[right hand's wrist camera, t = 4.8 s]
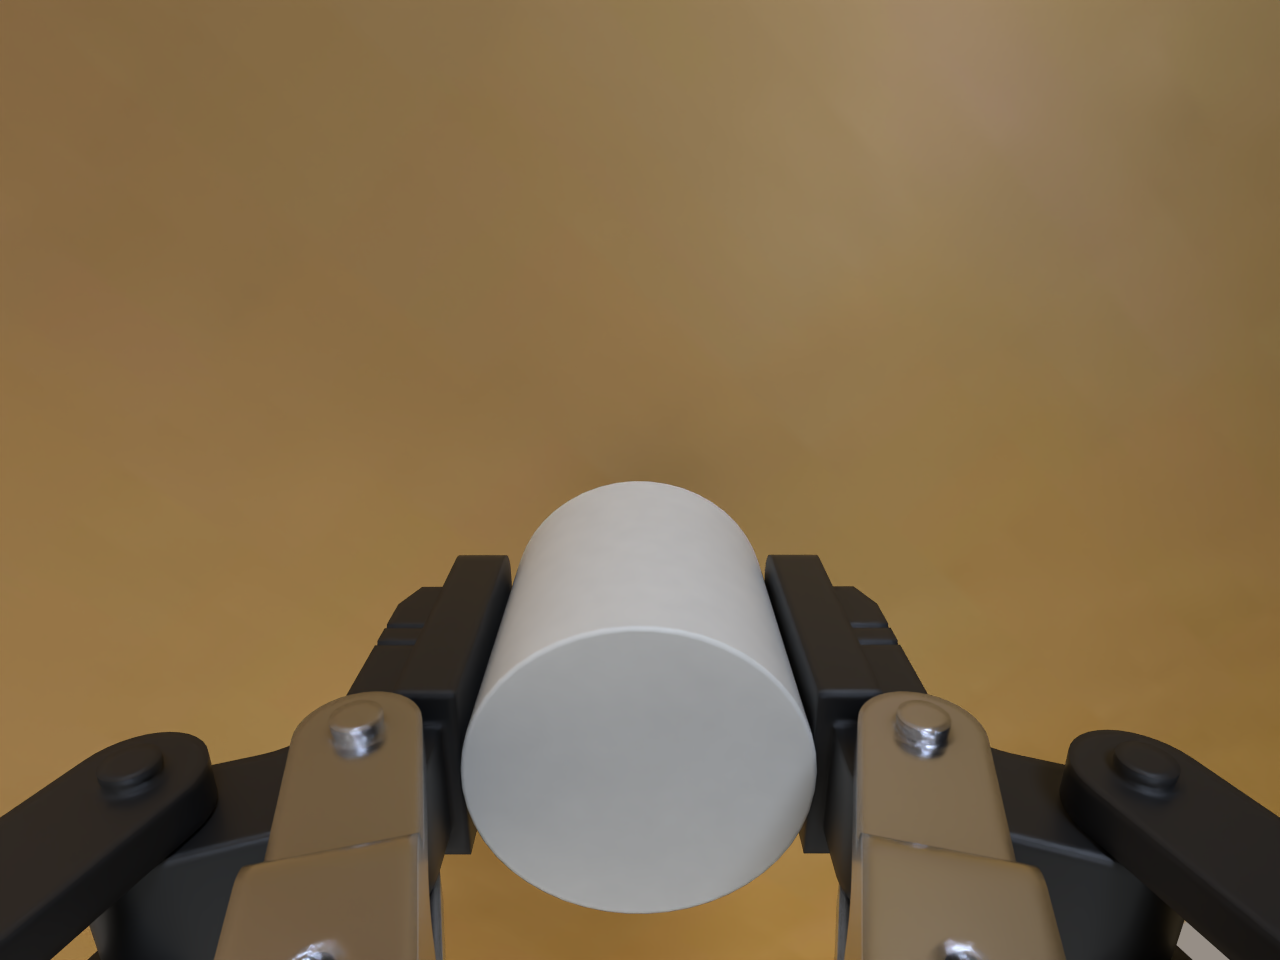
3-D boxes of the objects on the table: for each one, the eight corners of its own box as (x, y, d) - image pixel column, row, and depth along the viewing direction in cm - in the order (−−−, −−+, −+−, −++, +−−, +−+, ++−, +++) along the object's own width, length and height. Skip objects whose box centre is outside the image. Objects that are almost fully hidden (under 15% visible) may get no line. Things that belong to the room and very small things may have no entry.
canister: (529, 702, 13) (482, 922, 9) (503, 485, 12) (434, 636, 8) (762, 692, 13) (813, 909, 9) (762, 473, 12) (823, 618, 8)
